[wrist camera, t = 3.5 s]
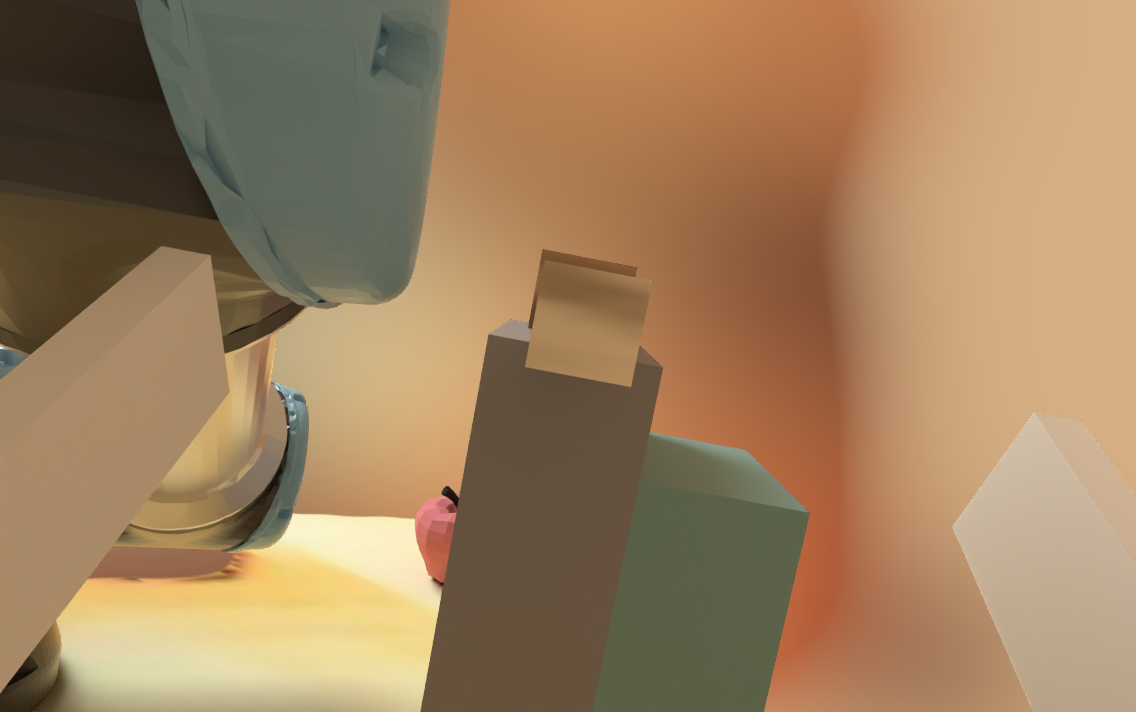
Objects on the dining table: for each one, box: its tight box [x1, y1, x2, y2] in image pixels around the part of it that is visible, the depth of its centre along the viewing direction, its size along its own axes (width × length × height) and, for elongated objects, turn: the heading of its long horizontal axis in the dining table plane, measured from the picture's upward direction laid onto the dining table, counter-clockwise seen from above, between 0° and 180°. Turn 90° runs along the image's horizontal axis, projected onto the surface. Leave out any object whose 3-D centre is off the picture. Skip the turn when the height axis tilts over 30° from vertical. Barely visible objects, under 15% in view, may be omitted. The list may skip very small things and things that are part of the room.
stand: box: [421, 319, 810, 712], centre depth 46 cm, size 14×18×30 cm
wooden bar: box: [525, 249, 652, 387], centre depth 38 cm, size 23×6×5 cm, turn 0°
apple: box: [415, 486, 460, 583], centre depth 77 cm, size 10×9×10 cm
